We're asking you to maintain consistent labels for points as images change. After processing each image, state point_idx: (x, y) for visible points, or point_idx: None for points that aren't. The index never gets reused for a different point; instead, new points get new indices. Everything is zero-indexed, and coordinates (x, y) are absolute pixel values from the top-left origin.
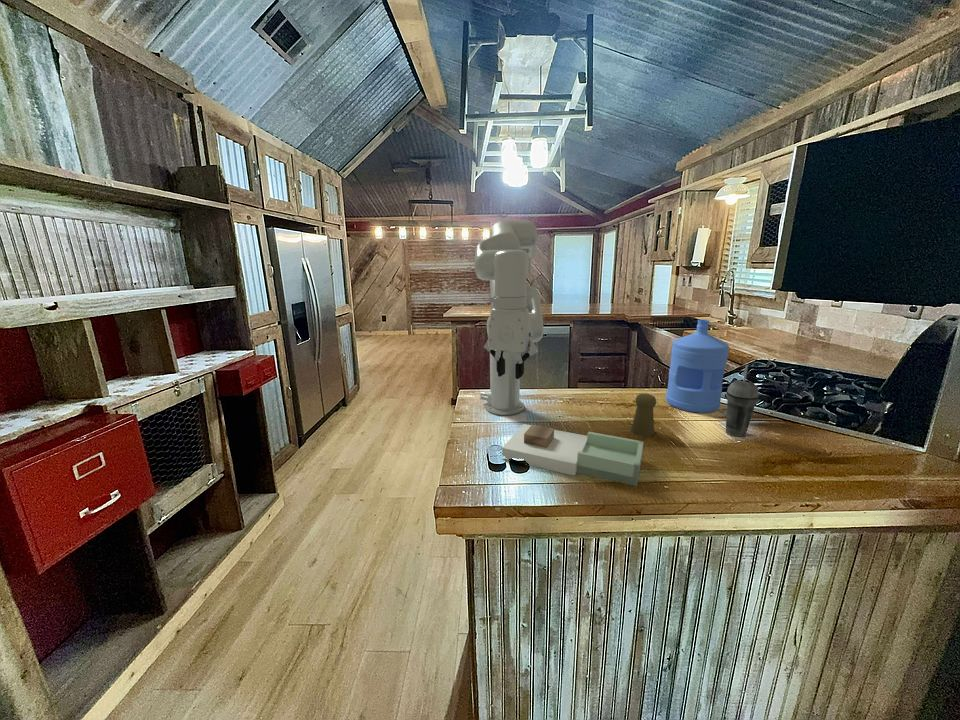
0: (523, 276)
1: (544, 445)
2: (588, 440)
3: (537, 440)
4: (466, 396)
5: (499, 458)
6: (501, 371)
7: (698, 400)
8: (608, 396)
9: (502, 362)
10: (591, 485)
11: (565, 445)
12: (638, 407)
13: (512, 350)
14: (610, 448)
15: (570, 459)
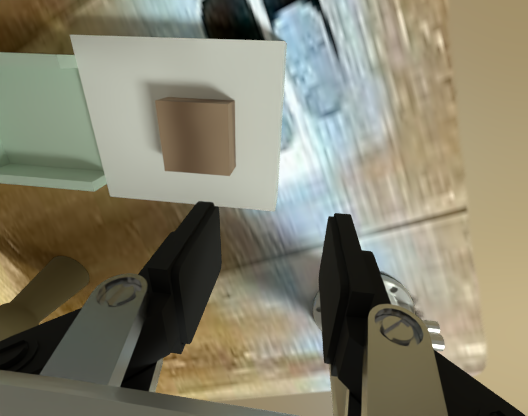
0: None
1: (173, 98)
2: (101, 174)
3: (189, 100)
4: (482, 345)
5: (295, 42)
6: (329, 246)
7: None
8: (173, 382)
9: (331, 313)
10: (46, 8)
11: (134, 129)
12: (32, 307)
13: (54, 405)
14: (61, 167)
15: (91, 55)
